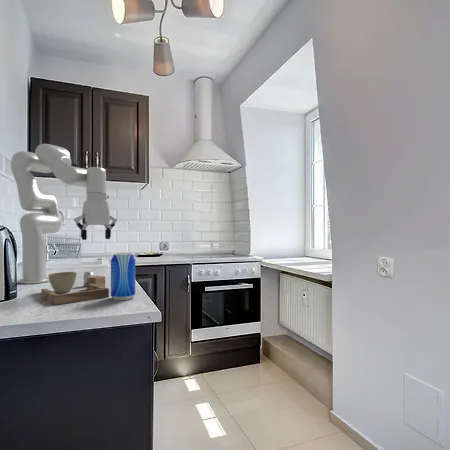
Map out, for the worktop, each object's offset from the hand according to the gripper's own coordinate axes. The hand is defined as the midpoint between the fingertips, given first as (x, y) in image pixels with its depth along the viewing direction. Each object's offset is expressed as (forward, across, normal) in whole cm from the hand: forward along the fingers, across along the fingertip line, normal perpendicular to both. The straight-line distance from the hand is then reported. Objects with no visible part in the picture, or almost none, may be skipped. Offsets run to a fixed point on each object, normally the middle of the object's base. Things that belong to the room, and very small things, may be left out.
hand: (96, 239), depth 136 cm
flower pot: (+21, +12, -3) cm, 24 cm away
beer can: (+21, 0, +24) cm, 32 cm away
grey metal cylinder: (+20, 0, -8) cm, 22 cm away
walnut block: (+20, 0, 0) cm, 20 cm away
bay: (+20, +12, +10) cm, 26 cm away
